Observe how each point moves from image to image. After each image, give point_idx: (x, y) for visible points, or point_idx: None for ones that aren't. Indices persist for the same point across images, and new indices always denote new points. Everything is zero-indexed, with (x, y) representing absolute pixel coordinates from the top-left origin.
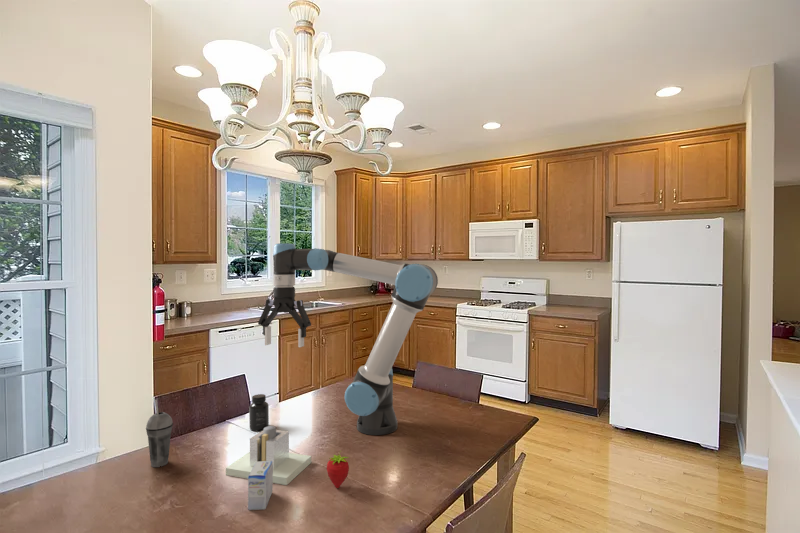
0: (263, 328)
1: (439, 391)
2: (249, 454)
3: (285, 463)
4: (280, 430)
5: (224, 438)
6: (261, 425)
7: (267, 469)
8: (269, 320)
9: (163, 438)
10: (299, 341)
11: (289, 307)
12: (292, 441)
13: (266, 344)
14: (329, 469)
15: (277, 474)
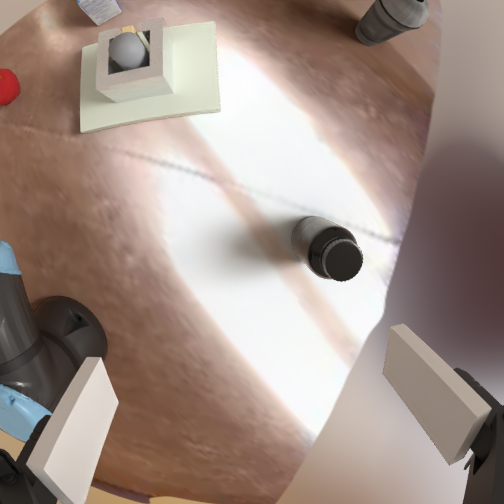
0: (493, 401)
1: (102, 485)
2: (209, 78)
3: None
4: (118, 83)
5: (348, 159)
6: (299, 227)
7: None
8: (490, 486)
9: (373, 4)
10: (76, 384)
11: None
12: (182, 201)
13: (394, 329)
14: (5, 69)
15: None
